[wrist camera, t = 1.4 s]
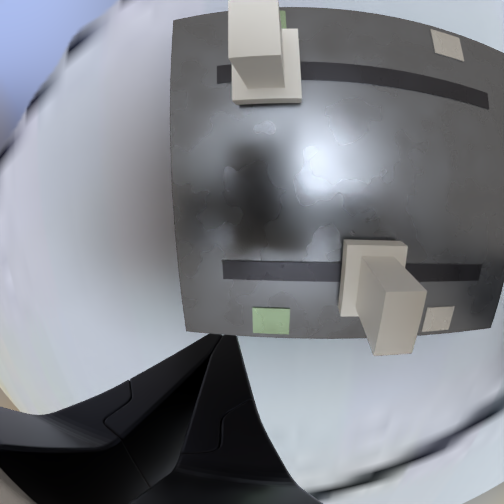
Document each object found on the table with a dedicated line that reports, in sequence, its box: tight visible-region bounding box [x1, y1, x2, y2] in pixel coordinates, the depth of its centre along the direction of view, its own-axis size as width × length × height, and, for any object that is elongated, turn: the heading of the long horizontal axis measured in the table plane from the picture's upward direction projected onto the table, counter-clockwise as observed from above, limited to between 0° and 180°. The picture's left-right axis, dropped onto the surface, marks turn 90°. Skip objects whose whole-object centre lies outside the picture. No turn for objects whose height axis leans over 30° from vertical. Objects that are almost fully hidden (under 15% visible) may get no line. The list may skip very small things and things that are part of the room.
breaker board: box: [170, 7, 504, 339], centre depth 14 cm, size 20×18×2 cm
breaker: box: [228, 0, 302, 105], centre depth 9 cm, size 3×4×5 cm
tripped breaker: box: [338, 239, 427, 356], centre depth 12 cm, size 3×4×5 cm
